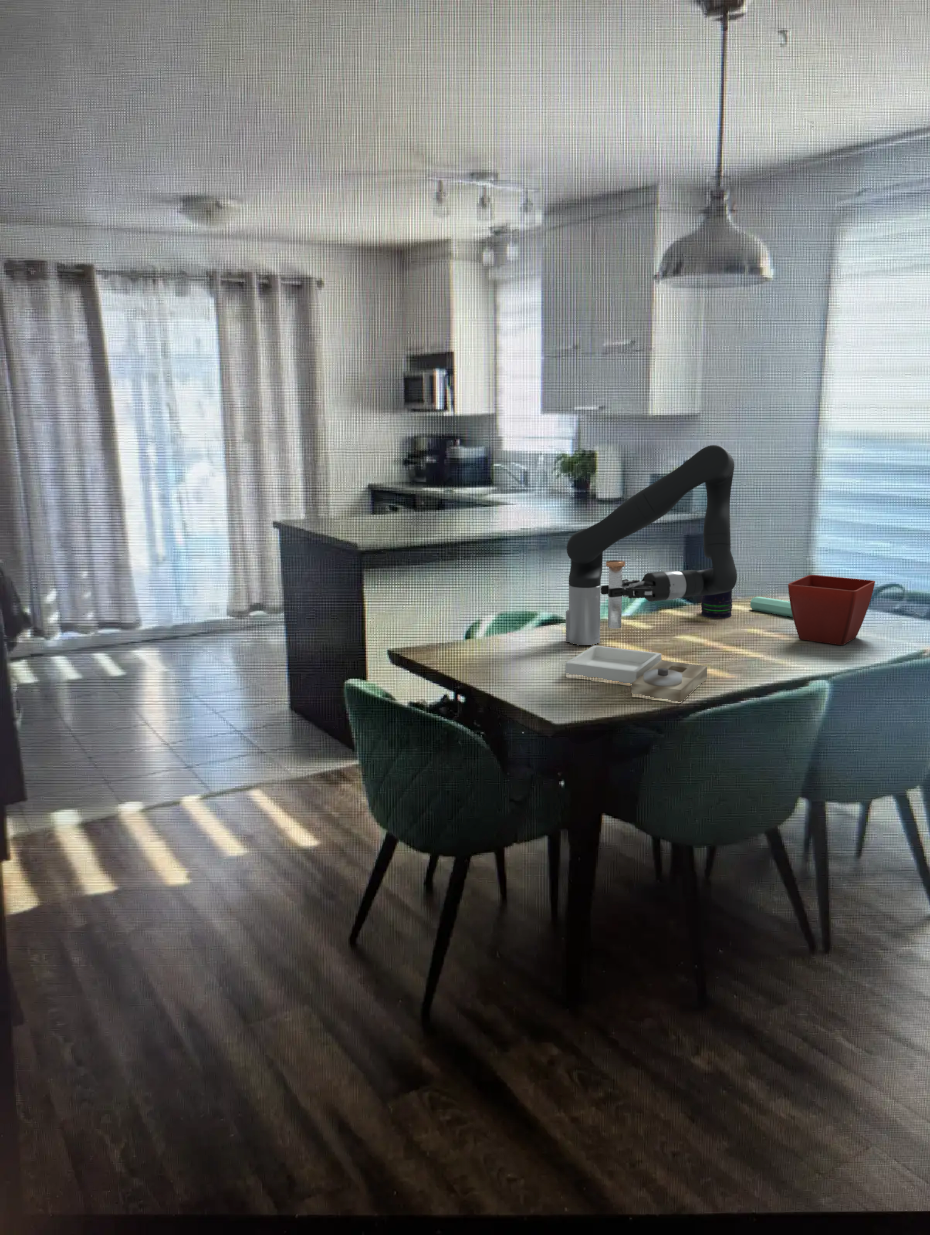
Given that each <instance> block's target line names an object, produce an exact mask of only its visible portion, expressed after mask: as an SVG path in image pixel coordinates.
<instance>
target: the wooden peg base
mask: <svg viewBox="0 0 930 1235" xmlns="http://www.w3.org/2000/svg"><path fill="white" fill-rule="evenodd" d="M706 679H707V680H708V665H702V664H695V663H687V662H680V661H678V662H677V661H672V660H671V661H670V660H662V659H661V661H660V662H658V663H657V664H656V665H654V666H653V667H652V668H651V669H649V670H648V671H646V672H644V674H643V675H641V676H640V677H639V678H638V679H636V680H635V681H634V682H632V685H631V687H630V688H631V690H630V693H633V694H642V695H645V696H650V697H654V698H662V699H668V700H671V701H678V702H681V701H683V700H684V699H685V698H686V697H687V696H688V695H689V694H690V693H691V692H692V691H694V689H695V688H696V687H697V686H698V685H699V684H701V683H702V682H703V681H705V680H706ZM707 680H706V681H707ZM703 683H704V682H703ZM703 683H702V684H703ZM702 684H701V685H702ZM694 692H695V691H694ZM686 699H687V698H686ZM686 699H685V700H686ZM685 700H684V701H685ZM684 701H683V702H684Z"/></svg>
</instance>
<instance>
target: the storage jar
mask: <svg viewBox="0 0 930 1235" xmlns="http://www.w3.org/2000/svg"><path fill="white" fill-rule="evenodd" d="M712 568H713V566H712V567H705V568H703V569H702V570H707V569H712ZM732 594H733V589H732V590H731V591H729V592H725V593H719V594H714V595H702V597H701V603H700V604H701V605H700V607H701V608H700V609H701V614H700V616H702V617H705V618H709V619H727V618H730V617H732V611H733V610H732V609H733V595H732Z"/></svg>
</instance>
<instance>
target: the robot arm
mask: <svg viewBox="0 0 930 1235" xmlns="http://www.w3.org/2000/svg"><path fill="white" fill-rule="evenodd" d="M734 472H735V460H734V458H733V456H732V455H731V454H730V453H729V451H728V450H727V449H725V448H724V446H722V445H718V444H711V445H707V446H704V447H703V448H701V449H700V450H699V451H697V452H696V453H695V454H694V455H692V456H691V457H690V458H688V459H687V460H686V461H685V462H683V463H682V464H681V465H680V466H678V467H677V468H675V469H674V470H673V471H671V472H670V473H668V474H666V475H664V476H662V477H661V478H659V479H657V481H655V482H653V483H652V484H650V485H648V486H647V487H644V488H643V489H641V490H640V491H638V492H636V493H635V494H634V495H632V496H630V497H629V498H628V499H626V500H625V501H624V502H623V503H621V504H620V505H619V506H617V507H616V508H615V509H614V510H613V511H612V512H610V513H609V514H608V515H607V516H606V517H604V518H603V519H601V520H599V521H598V522H596V523H595V524H593V525H591V526H589V527H587V528H583V529H579V530H578V531H576V532H574V534H572V535H571V536H570V537H569V539H568V541H567V544H566V553H567V556H568V558H569V559H570V570H569V574H568V609H567V610H565V611H566V612H565V643H566V642H570V643H574V644H578V645H577V646H579V645H591V646H593V645H592V644H596V645H598V644H597V643H599V644H600V643H601V595H607V596H608V597H621V596H622V598H628V599H645V600H646V601H647V602H651V603H652V602H661V601H670V600H677V599H681V598H689V597H695V596H703V595H714V594H719V593H725V592H729V591H731V590H732V591H733V589H734V588H735V586H736V584H737V580H738V572H737V568H736V564H735V560H734V557H733V554H732V550H731V549H732V548H731V547H732V546H731V545H732V543H731V540H732V538H731V494H732V485H733V480H734ZM704 483H705V484H704ZM702 484H704V485H705V491H706V510H705V514H704V515H705V516H704V520H703V532H702V533H703V536H702V537H703V539H702V540H703V541H702V542H703V554H704V557H706V558H707V559H710V561H711V563H712V567H713V568H712V567H711V568H712V569H707V570H703V569H702V570H695V569H687V570H664V571H653V572H648V573H645V574H644V575H643V577H642V579H641V580H640V579H632V580H629V579H626V578H625V579H622V588H621V587H620V588H610V589H608V586H609V584H606V585H601V584H602V583H601V582H602V575H603V558H604V557H603V554H604V552H605V551H606V550H607V549H608V548H610V547H611V546H612V545H613V544H615V543H617V542H619V541H620V540H622V539H624V538H627V537H629V536H630V535H633V534H636V532H638V531H640V530H642V529H644V528H646V527H647V526H649V525H652V523H654V522H656V521H658V520H659V519H661V518H663V517H664V516H665V515H666V514H668V513H669V512H671V510H672V509H673V508H675V506H676V505H677V503H679V502H680V500H681V499H682V498H683V497H684V496H686V495H687V494H688V493H689V492H691V491H692V490H693V489H696V488H697V487H699V486H701V485H702ZM570 643H569V644H570Z"/></svg>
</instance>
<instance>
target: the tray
mask: <svg viewBox="0 0 930 1235" xmlns="http://www.w3.org/2000/svg"><path fill="white" fill-rule="evenodd" d="M661 660H662V653H660V652H653V651H645V650H637V649H628V648H627V649H626V648H620V647H612V646H611V647H610V646H602V645H597V644H596V645H591V647H589V648H587V649H586V650H584V651H583V652H581V653H579V654H577V655H576V656H574V657H572V658H571V659H569V660H567V661H565V674H566V673H569V674H577V675H583V676H587V677H598V678H603V679H607V680H612V681H619V682H623V683H630V684H632V682H634V681H635V680H636V679H638V678H639V677H640V676H641V675H643V674H644V672H646V671H648V670H649V669H651V668H652V667H653V666H654V665H656V664H657V663H658V662H660V661H661Z"/></svg>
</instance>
